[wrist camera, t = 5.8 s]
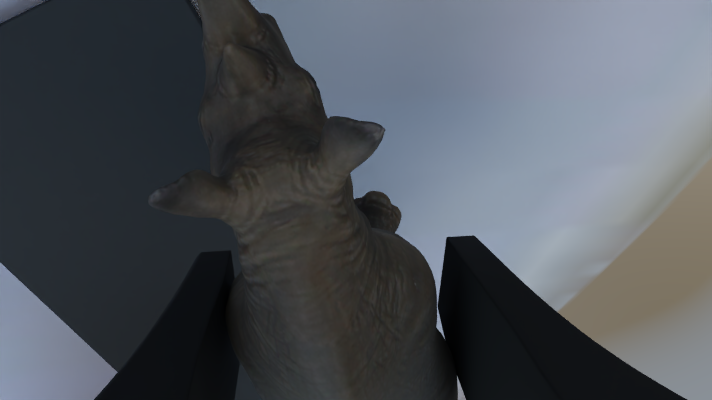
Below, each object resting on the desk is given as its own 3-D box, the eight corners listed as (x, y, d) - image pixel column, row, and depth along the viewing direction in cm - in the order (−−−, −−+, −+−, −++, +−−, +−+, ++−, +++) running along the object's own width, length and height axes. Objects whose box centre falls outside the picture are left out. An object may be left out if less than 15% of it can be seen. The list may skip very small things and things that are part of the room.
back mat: (-158, 102, 17) (-167, 107, 17) (158, -55, 16) (155, -52, 15) (195, 437, 28) (194, 445, 28) (399, 363, 27) (401, 370, 26)
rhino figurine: (342, -127, 9) (416, -62, 4) (443, 371, 17) (509, 591, 12) (109, -65, 10) (-68, 65, 5) (315, 402, 17) (331, 632, 13)
